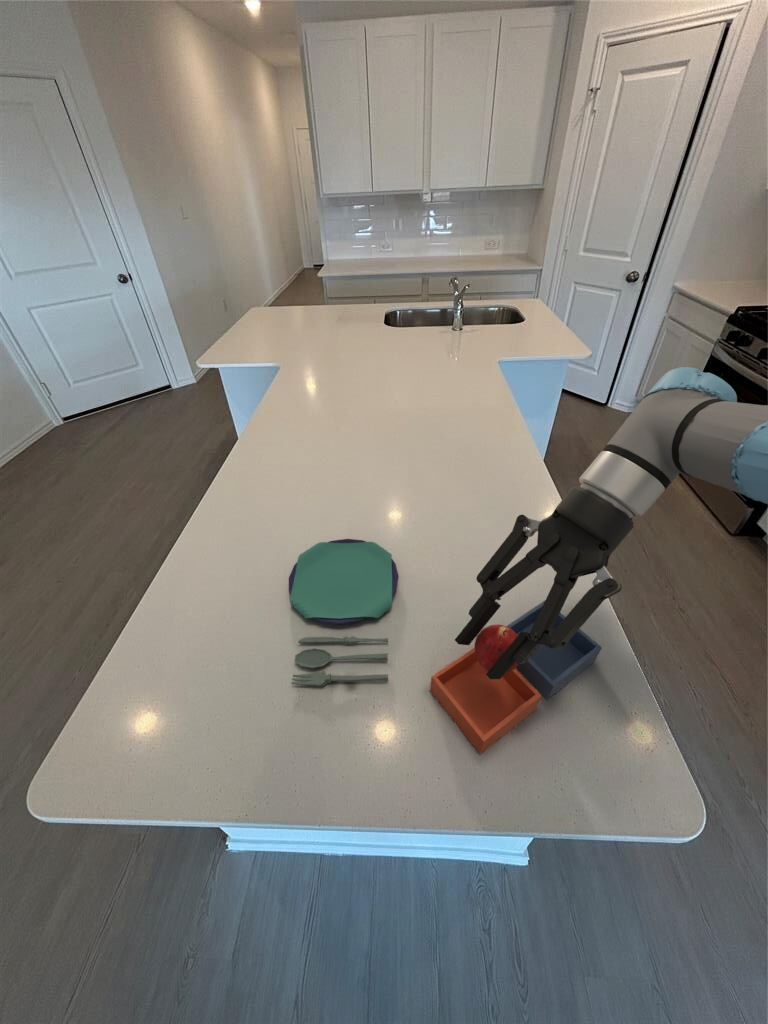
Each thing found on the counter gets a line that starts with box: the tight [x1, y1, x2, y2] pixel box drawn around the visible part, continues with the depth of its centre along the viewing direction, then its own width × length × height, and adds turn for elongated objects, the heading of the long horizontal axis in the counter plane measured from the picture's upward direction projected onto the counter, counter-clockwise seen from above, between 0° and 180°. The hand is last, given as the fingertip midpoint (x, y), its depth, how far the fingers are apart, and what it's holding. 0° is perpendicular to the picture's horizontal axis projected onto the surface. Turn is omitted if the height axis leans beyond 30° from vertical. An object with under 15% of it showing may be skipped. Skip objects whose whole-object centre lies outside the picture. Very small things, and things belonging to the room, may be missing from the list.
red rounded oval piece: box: [473, 624, 518, 674], centre depth 54 cm, size 6×6×8 cm
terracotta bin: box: [429, 647, 543, 755], centre depth 62 cm, size 11×11×4 cm
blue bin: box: [506, 600, 603, 701], centre depth 67 cm, size 11×11×4 cm
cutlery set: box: [288, 538, 399, 687], centre depth 76 cm, size 20×30×2 cm, turn 0°
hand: (477, 658), depth 53 cm, fingers closed on red rounded oval piece, 5 cm apart
